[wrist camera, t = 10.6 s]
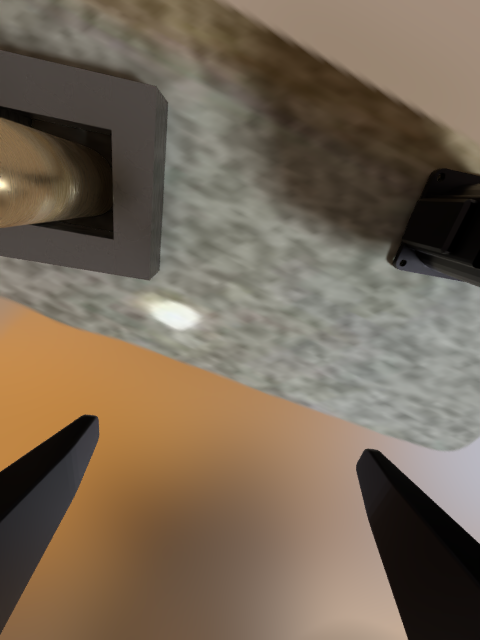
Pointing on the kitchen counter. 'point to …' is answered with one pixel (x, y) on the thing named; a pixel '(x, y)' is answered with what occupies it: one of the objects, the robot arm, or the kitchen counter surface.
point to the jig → (127, 163)
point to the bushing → (49, 178)
